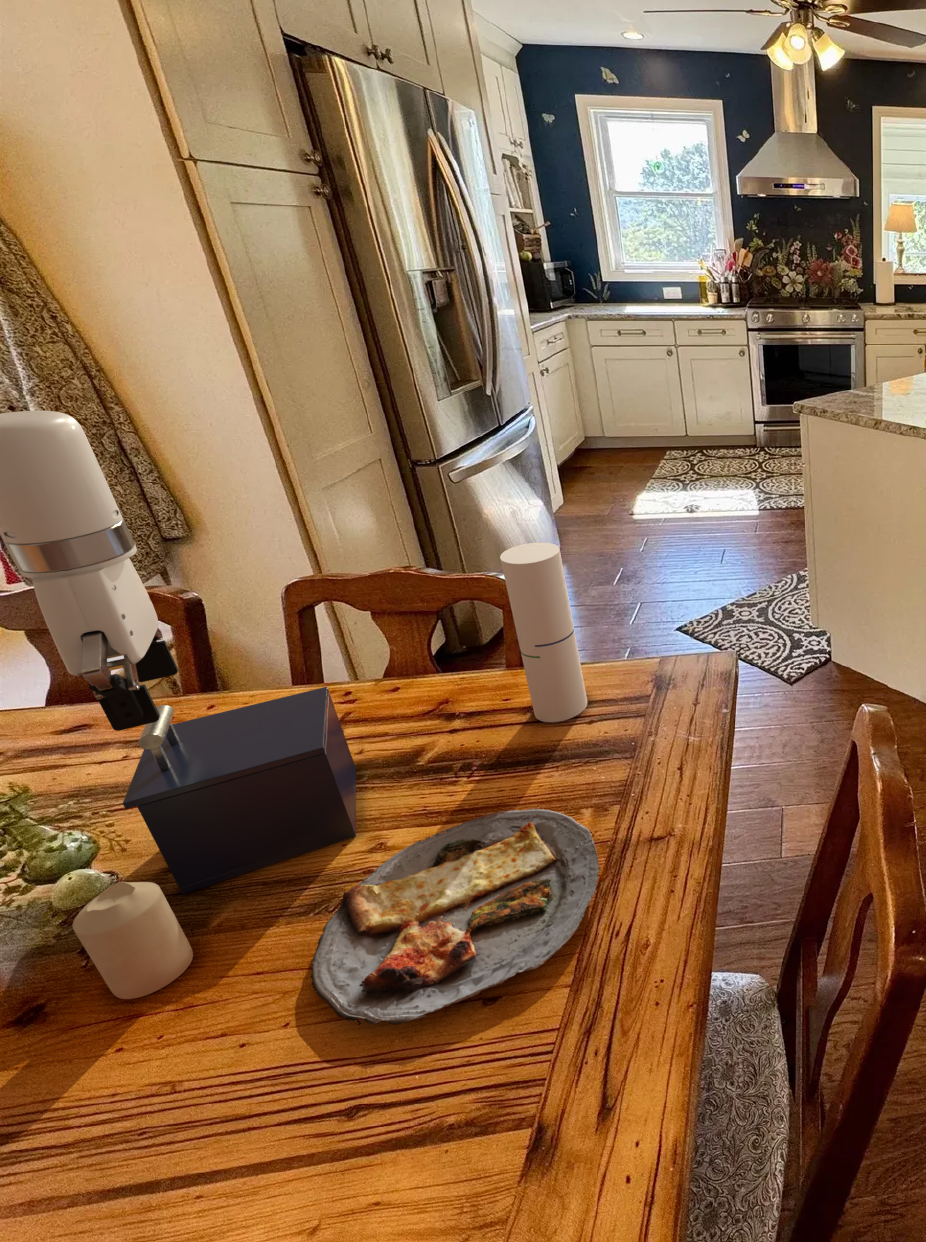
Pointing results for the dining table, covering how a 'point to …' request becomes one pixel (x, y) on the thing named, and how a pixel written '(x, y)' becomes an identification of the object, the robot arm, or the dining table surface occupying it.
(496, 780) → the dining table surface
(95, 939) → the candle
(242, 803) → the navy blue box
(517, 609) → the cylindrical container
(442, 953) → the food plate
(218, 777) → the lid
